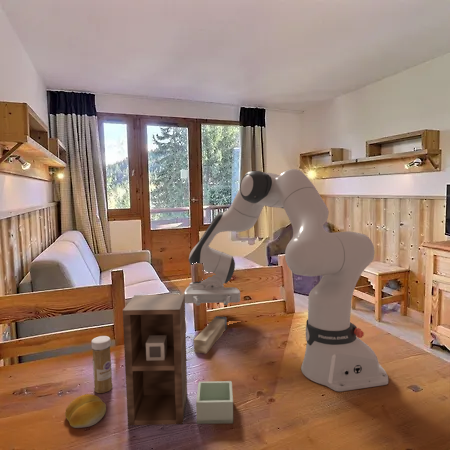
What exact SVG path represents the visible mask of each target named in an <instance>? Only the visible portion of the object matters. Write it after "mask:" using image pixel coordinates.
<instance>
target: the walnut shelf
mask: <svg viewBox="0 0 450 450" xmlns="http://www.w3.org/2000/svg"><path fill="white" fill-rule="evenodd" d="M122 324H123V325H122V326H123V328H122V329H123V346H124V347H123V348H124V349H123V350H124V366H125V368H124V369H125V370H124V371H125V372H124V373H125V391H126V394H125V395H126V413H127V426H157V425H162V426H163V425H183V424H184V420H185V413H186V407H187V400H188V381H187V380H188V378H187V377H188V375H187V374H188V373H187V372H188V371H187V369H188V367H187V334H186V329H187V328H186V303H185V295H184V294H143V295H142V294H141V295H139V294H137V295H136V294H135V295H133V297H131V299H130V300H129V301H128V303H127V304H126V305H125V307H124V308H123V309H122ZM149 335H167V354H166V357H165V360H148V361H146V342H147V340H148V338H149Z"/></svg>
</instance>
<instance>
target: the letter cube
mask: <svg viewBox="0 0 450 450" xmlns="http://www.w3.org/2000/svg"><path fill="white" fill-rule="evenodd" d="M166 354H167V335H149V338H148V340H147V342H146V361H148V360H165V357H166Z"/></svg>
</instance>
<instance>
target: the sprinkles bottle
mask: <svg viewBox="0 0 450 450" xmlns="http://www.w3.org/2000/svg"><path fill="white" fill-rule="evenodd" d="M111 344H112V342H111V338H110V337H109V336H107V335H99V336H97V337H94V338H93V339H91V350H92V369H93V371H92V372H93V380H94V382H93V383H94V385H93V386H94V388H93V389H94V392H95V393H98V394H105V393H107V392H109V391H110V390H112V389H113V381H112V380H113V379H112V377H113V376H112V375H113V374H112V373H113V371H112V359H111Z"/></svg>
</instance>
